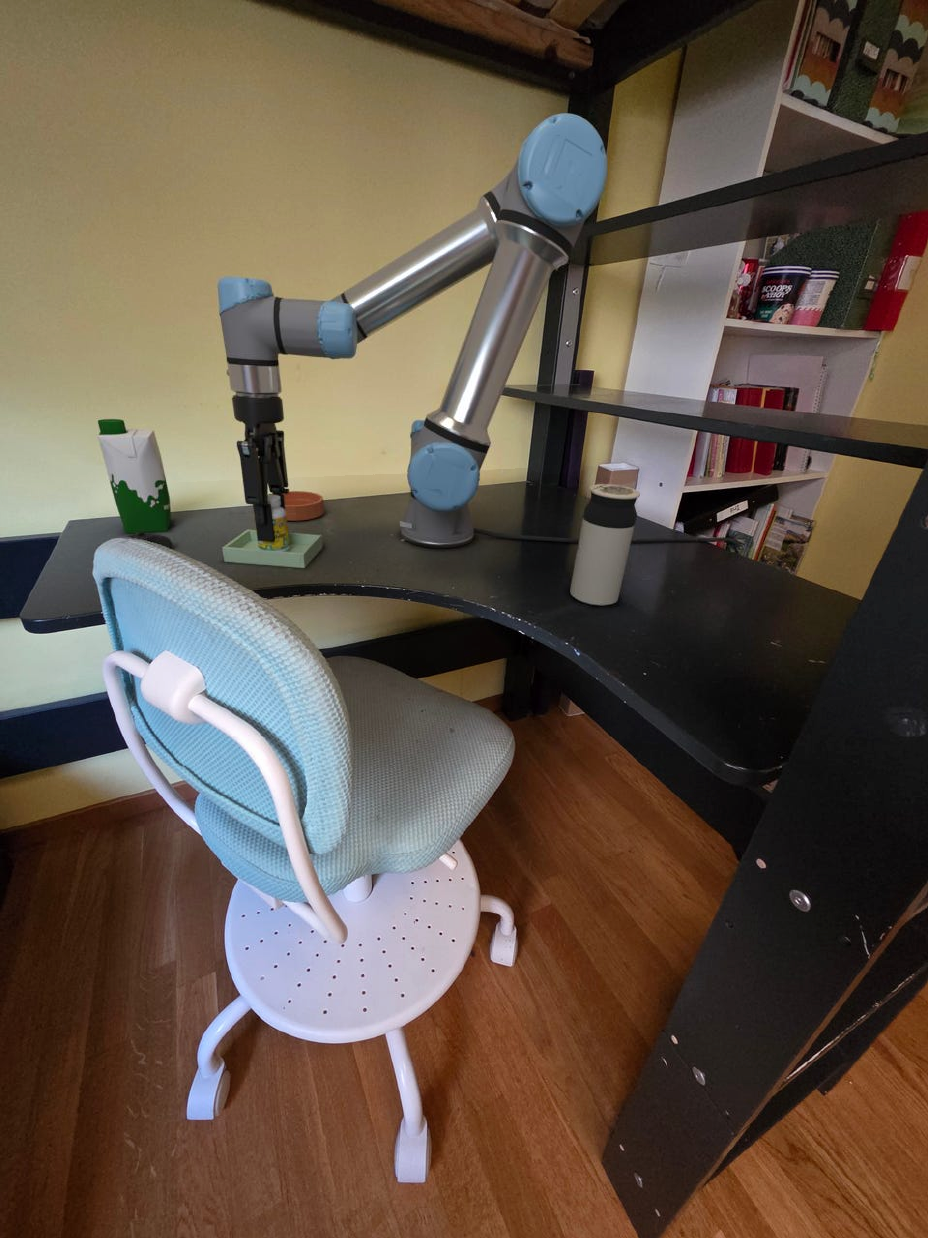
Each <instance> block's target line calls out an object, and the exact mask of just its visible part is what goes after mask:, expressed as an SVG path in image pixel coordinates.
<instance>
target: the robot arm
mask: <svg viewBox="0 0 928 1238" xmlns="http://www.w3.org/2000/svg"><path fill="white" fill-rule="evenodd" d="M607 177H608V157H607V153H606V148H605V145H604V142H603V139H602V137H601V135H600V134H599V132H598V131H597V130H596V128H595V127H594V125H592V124H591V123H590V122H589V121H588V120H587V119H586V118H583V117H582V116H580V115H577V114H574V113H567V112H564V113H557V114H553V115H551V116H549V117H547V118H546V119H543V120H542V121H541V122H540V123H538V125H537V126H536V127H534V128H533V129H532V131H530V132H529V133H528V136H527V137H526V138H525V140H524V141H523V143H522V146H521V148H520V152H519V155H518V156H517V159H516V160H515V162H514V164H513V166H512V169H511V170H510V171H509V172H508V173H507V175H506V176H505V177H504V178H503V179H502V180H501V181H500V182H499V183H498V184H497V185H495V186H494V187H493V188H492V189H490V190H489V191H488V192H486V193H484V194H482V195H481V196H479V199H478V202H477V206H476V207H475V209H474V210H472V211H470V212H469V213H466V215H464V216H462V217H461V218H459V219H458V220H456V221H455V222H453V223H451V224H450V225H448V226H447V227H445V228H443V229H442V230H440V231H439V232H437V233H435V234H434V235H432V236H431V237H428V238H427V239H426V240H424V241H422V242H421V243H419V244H418V245H416V246H415V247H413V248H412V249H410V250H408V251H407V252H405V253H404V254H402V255H401V256H399V257H397V258H396V259H395V260H393V261H391V262H390V263H387V264H386V265H384V266H383V267H381V268H380V269H378V270H377V271H375V272H373V273H372V274H370V275H368V276H367V277H366V278H364V279H362V280H361V281H359V282H357V283H356V284H354V285H353V286H351V287H349V288H348V289H347V290H345V291H344V292H342V293H340V294H338V295H336V296H335V297H333V298H332V299H330V300H329V299H328V300H318V299H317V300H316V299H302V298H299V299H298V298H285V297H279V296H275V293H274V292H273V288H272V284H270V282H269V281H267V280H264V279H258V278H250V277H243V276H242V277H241V276H223V277H221V278H220V279H219V280H218V282H217V295H218V296H217V297H218V305H219V306H218V308H219V310H218V315H219V317H220V323H221V331H222V336H223V344H224V349H225V357H226V363H227V369H226V370H225V371H226V375H227V376H228V378H229V386H230V391H232V392H233V393H235V394H233V395H232V397H231V403H232V410H233V417H234V420H236V421H237V422H240V423H243V424H244V440H237V441H236V449H237V452H238V455H239V460H240V462H239V463H240V470H241V478H242V486H243V495H244V502H245V503H246V504H247V505H252V508H253V516H254V515H255V518H254V524H255V523H256V525H255V530H256V531H257V538H258V541H267V542H274V541H275V538H274V529H273V520H272V512H271V504H268V494H270V495H278V496H280V499H281V505H280V507H282V508H283V509H284V510H285V500H284V495H283V494H289V491H290V488H289V478H288V477H289V476H288V468H287V460H286V450H285V432H284V430H278V429H277V426H276V424H279V423H282V422H284V421H285V420H284V419H285V414H284V403H283V399H282V397H281V396H279V395H280V394H281V393H282V392H283V388H282V378H281V371H280V362H279V355H282V356H283V355H286V356H288V355H290V356H299V357H300V356H301V357H310V358H325V359H326V358H327V359H331V360H340V359H346V360H347V359H348V360H349V359H352V358H354V357H355V356H356V353H357V348H358V344H360V343H362V342H364V341H365V340H366V339H368V338H369V337H371V336H372V335H374V334H376V333H378V332H380V331H381V330H382V329H384V328H386V327H388V326H389V325H391V324H392V323H394V322H395V321H397V320H399V319H400V318H403V317H404V316H406V315H407V314H409V313H410V312H412V311H414V310H416V309H417V308H419V307H420V306H422V305H424V304H426V303H427V302H430V301H431V300H432V299H434V298H436V297H437V296H440V295H441V294H442V293H444V292H446V291H447V290H449V289H450V288H452V287H454V286H455V285H457V284H459V283H460V282H462V281H464V280H465V279H467V278H469V277H471V276H472V275H474V274H476V273H477V272H479V271H480V270H482V269H484V268H486V267H487V266H489V265H490V268H489V271H488V273H487V275H486V279H485V281H484V284H483V287H482V289H481V292H480V296H479V298H478V301H477V304H476V307H475V308H474V312H473V315H472V317H471V320H470V323H469V325H468V328H467V330H466V334H465V336H464V338H463V342H462V345H461V347H460V350H459V352H458V356H457V359H456V361H455V364H454V367H453V369H452V372H451V375H450V377H449V380H448V383H447V386H446V388H445V391H444V394H443V397H442V400H441V402H440V404H439V407H438V408H437V409H436V410H433V411H431V412H429V413H427V414H426V415H425V419H424V420H423V419H416V420H414V421H413V422H412V424H411V429H410V433H409V438H410V458H409V463H408V466H407V470H406V471H407V475H406V479H407V483H408V486H409V491H410V496H409V502H408V505H407V508H406V511H405V513H404V516H403V519H402V520H399V527H401V528H400V536H401V538H402V539H403V540H404V541H405V542H408V543H409V544H412V545H415V546H419V547H423V548H428V549H429V548H431V549H455V548H460V547H464V546H466V545H469V544H471V543H472V542H473V540H474V535H475V534H479V535H484V536H489V537H493V538H498V539H504V540H505V539H506V540H520V541H538V542H553V543H571V544H572V543H573V544H578V543H579V538H575V537H573V538H572V537H556V536H555V537H554V536H540V535H522V534H507V533H506V534H505V533H499V532H494V531H489V530H485V529H481V528H476V527H474V524H473V520H472V516H471V513H470V512H471V511H470V508H469V502H470V501H471V500H473V498H474V496H475V494H476V493H477V491H478V489H479V486H480V480H481V479H480V478H481V477H480V476H481V469H482V468H483V467H482V466H483V464H484V462H485V460H486V457H487V455H488V452H489V450H490V448H491V445H492V441H491V438H490V435H489V431H488V430H489V429H488V428H489V426H490V424H491V421H492V419H493V416H494V414H495V411H496V410H497V406H498V405H499V402H500V399H501V397H502V394H503V392H504V389H505V387H506V385H507V382H508V379H509V377H510V375H511V373H512V370H513V367H514V366H515V362H516V360H517V358H518V355H519V353H520V350H521V348H522V346H523V344H524V341H525V338H526V337H527V334H528V331H529V329H530V326H531V324H532V321H533V319H534V317H535V314H536V313H537V312H536V311H537V310H538V307H539V304H540V302H541V299H542V297H543V296H544V295H543V294H544V292H545V291H546V287H547V285H548V282H549V280H550V278H551V275H552V273H553V271H554V270H555V269H557V268H559V267H562V266H563V265H566V264H567V263H568V262H569V259H570V256H571V255H572V252H573V249H574V247H575V245H576V243H577V240H578V237H579V235H580V233H581V230H582V228H583V226H584V223H585V221H586V219H588V218H589V217H590V215H592V213H593V212H594V211H595V209H596V208H597V207H598V205H599V202H600V200H601V198H602V196H603V193H604V190H605V187H606V184H607ZM268 490H269V491H268ZM268 492H269V493H268ZM285 511H286V510H285ZM692 537H693V538H696V539H699V540H702V541H705V542H704V543H720V542H723V543H724V542H726V543H731V544H733V546H735V547H736V548H741V547H742V546H741V544H740V542H738V541H737V540H735V539H734V538H732V537H726V536H725V537H701V536H700V537H698V536H692ZM691 540H693V541H691ZM671 542H672V543H673V542H675V543H677V542H682V543H683V542H696V541H695V540H694V539H691V538H690V540H688V538H687V539H684V538H680V539H636V540H631V544H635V543H636V544H637V543H639V544H640V543H671ZM699 542H701V541H699Z"/></svg>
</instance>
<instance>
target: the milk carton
mask: <svg viewBox="0 0 928 1238" xmlns="http://www.w3.org/2000/svg"><path fill="white" fill-rule="evenodd" d="M97 424H98V430H99V432H98V436H97V439H98V442H99V446H100V450H101V453H102V456H103V459H104V460H103V461H104V465H105V468H106V472H107V476H108V480H109V484H110V487H111V491H112V494H113V499H114V503H115V505H116V509H117V512H118V515H119V518H120V520H121V524H122V526H123V530H124V532H125V534H135V533H138V532H144V533H157V532H158V533H159V532H161V533H162V532H168V531H169V527H170V524H171V521H172V516H171V515H172V511H171V497H170V492H169V488H168V482H167V478H166V473H165V468H164V464H163V458H162V455H161V451H160V447H159V444H158V441H157V437H156V434H155V430H154V429H138V428H129V429H127V427H126V424H125V420H124V419H119V418H103V419H98V420H97Z"/></svg>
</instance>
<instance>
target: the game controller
mask: <svg viewBox="0 0 928 1238" xmlns="http://www.w3.org/2000/svg"><path fill="white" fill-rule="evenodd" d="M126 537H131V538H137V539H143V540H147V541H150V542H154V543H157V544H161V545H163V546H166V547H169V548H170V549H171V548H172V547H173V542H172V540H171V538H169V537H168V536H164V535H161V534H155V533H145V532H138V533H130V534H129V535H127V536H126Z"/></svg>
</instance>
